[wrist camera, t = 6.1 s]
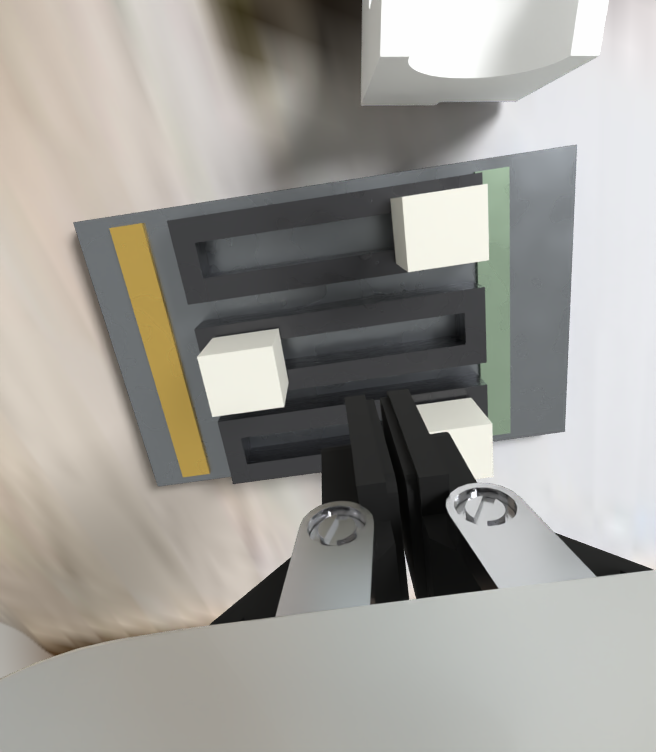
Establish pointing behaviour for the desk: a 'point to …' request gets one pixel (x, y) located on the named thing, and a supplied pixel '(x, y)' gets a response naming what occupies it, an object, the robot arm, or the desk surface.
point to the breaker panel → (337, 311)
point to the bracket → (473, 48)
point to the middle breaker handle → (244, 372)
